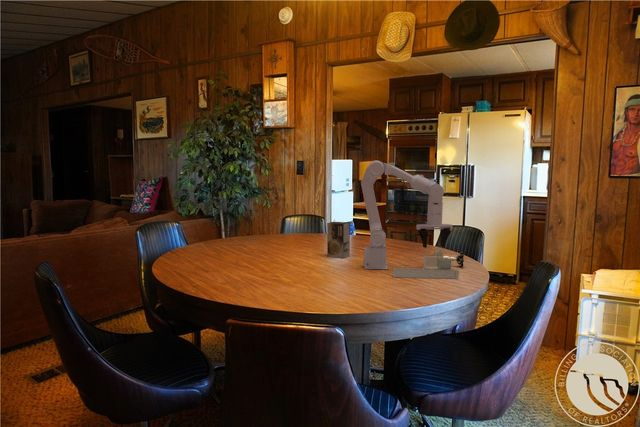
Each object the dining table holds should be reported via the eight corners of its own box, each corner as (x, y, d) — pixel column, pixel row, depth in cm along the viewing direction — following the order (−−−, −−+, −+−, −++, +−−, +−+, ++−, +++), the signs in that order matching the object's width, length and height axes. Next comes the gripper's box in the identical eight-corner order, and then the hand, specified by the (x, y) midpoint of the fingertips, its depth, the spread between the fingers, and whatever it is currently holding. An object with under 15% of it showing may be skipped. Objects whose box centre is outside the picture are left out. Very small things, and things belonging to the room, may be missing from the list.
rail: (393, 277, 160) (393, 262, 160) (391, 272, 169) (391, 257, 168) (458, 279, 158) (459, 263, 158) (453, 273, 167) (453, 258, 166)
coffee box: (350, 256, 201) (350, 222, 199) (343, 258, 195) (343, 223, 194) (333, 254, 206) (333, 221, 204) (326, 256, 200) (326, 222, 199)
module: (426, 272, 169) (426, 257, 168) (423, 268, 175) (423, 254, 175) (437, 272, 168) (438, 257, 168) (434, 269, 175) (435, 254, 174)
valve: (433, 267, 178) (463, 268, 176) (434, 252, 177) (464, 253, 175) (432, 264, 184) (461, 265, 182) (432, 249, 184) (461, 250, 182)
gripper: (421, 214, 166) (420, 249, 167) (456, 214, 168) (455, 248, 169) (414, 213, 173) (413, 246, 174) (448, 212, 175) (447, 245, 176)
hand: (433, 247), depth 172 cm, fingers open, 7 cm apart
